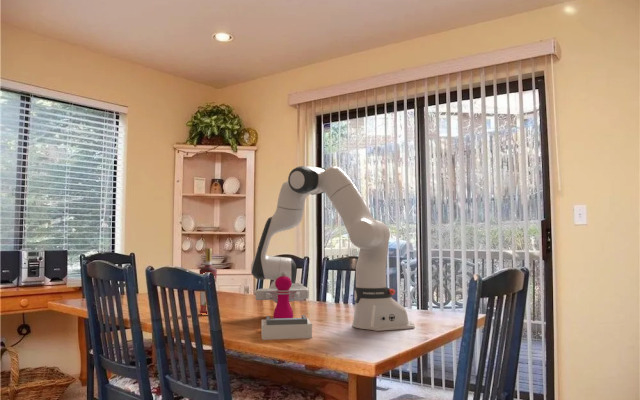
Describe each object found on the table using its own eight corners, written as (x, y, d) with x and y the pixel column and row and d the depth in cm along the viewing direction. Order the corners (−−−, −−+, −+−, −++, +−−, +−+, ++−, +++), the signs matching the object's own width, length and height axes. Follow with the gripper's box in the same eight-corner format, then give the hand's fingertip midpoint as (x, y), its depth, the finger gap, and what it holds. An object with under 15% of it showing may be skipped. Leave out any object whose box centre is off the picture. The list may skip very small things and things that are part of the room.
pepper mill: (296, 326, 174) (296, 271, 175) (288, 330, 167) (288, 272, 169) (278, 325, 176) (278, 271, 178) (269, 329, 169) (270, 272, 171)
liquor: (217, 313, 206) (218, 248, 209) (215, 315, 199) (216, 248, 201) (199, 313, 205) (200, 248, 208) (197, 316, 198) (198, 248, 201)
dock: (307, 329, 167) (307, 312, 168) (312, 338, 153) (311, 319, 154) (261, 331, 165) (261, 313, 165) (262, 339, 151) (262, 320, 152)
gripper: (254, 284, 187) (254, 288, 174) (306, 283, 190) (310, 287, 176) (254, 301, 187) (254, 305, 173) (306, 299, 190) (310, 304, 176)
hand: (283, 296), depth 175 cm, fingers open, 8 cm apart
